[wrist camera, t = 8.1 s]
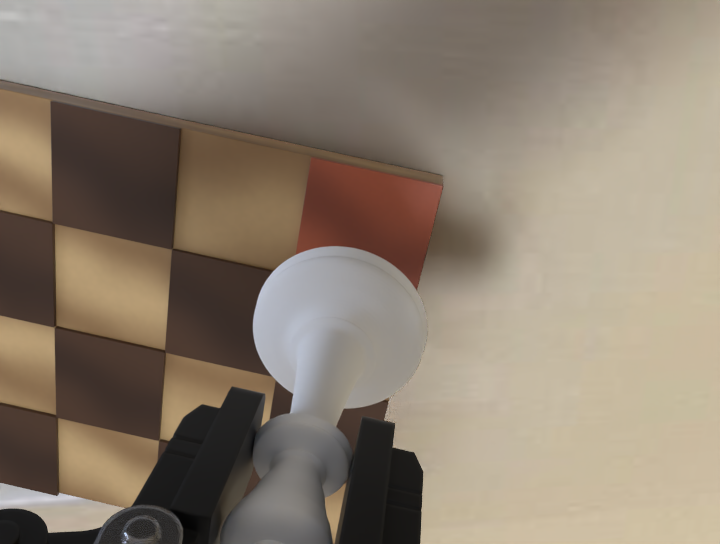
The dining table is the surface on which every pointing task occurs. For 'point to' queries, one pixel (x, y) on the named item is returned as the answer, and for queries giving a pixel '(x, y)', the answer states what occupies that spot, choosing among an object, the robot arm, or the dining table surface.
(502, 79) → the dining table surface
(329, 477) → the chess piece
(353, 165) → the game board
